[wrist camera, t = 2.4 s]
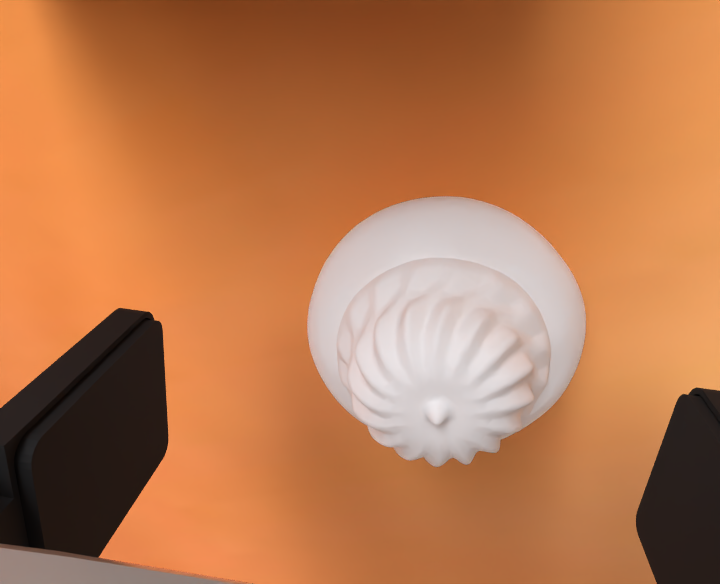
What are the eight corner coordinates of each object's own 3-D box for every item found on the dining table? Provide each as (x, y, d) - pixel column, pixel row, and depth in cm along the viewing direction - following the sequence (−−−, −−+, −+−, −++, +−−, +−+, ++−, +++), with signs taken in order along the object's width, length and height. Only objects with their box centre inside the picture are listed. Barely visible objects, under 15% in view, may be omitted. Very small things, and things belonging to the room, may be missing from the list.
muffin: (548, 141, 15) (613, 227, 9) (570, 355, 17) (635, 547, 11) (312, 186, 16) (219, 288, 10) (361, 378, 19) (310, 561, 12)
